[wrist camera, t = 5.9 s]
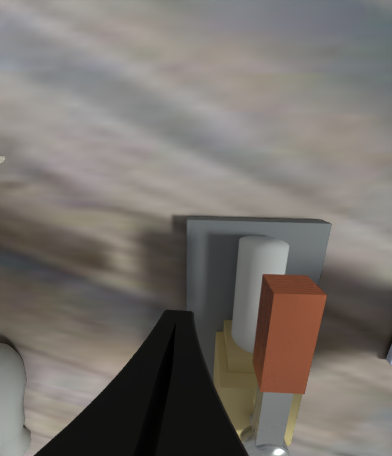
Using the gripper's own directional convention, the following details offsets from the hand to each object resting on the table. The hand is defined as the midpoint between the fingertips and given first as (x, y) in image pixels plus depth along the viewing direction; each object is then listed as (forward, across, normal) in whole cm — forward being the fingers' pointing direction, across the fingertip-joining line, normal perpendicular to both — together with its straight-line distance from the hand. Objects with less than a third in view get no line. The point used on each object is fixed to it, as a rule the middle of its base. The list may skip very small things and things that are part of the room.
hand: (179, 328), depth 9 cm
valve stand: (+7, -5, +8) cm, 12 cm away
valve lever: (+1, -5, +3) cm, 6 cm away
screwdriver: (+8, +19, +20) cm, 29 cm away
